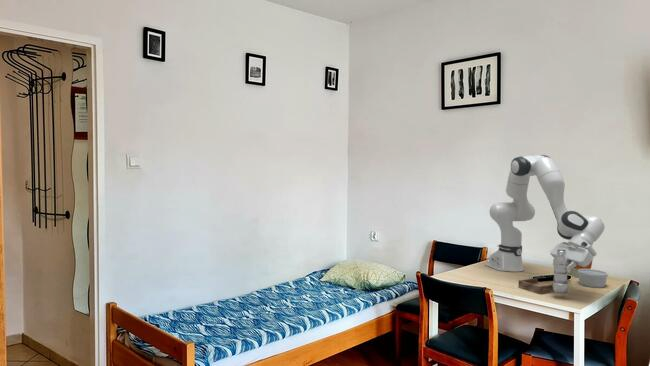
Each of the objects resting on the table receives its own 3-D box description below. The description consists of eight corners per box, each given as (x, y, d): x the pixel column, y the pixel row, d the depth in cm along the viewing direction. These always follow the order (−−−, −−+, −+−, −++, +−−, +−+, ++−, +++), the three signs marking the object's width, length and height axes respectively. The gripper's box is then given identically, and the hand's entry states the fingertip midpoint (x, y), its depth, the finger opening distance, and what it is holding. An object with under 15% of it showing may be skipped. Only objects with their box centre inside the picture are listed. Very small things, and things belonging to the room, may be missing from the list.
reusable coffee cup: (577, 279, 250) (578, 251, 249) (561, 273, 262) (562, 246, 261) (598, 278, 252) (599, 250, 251) (581, 272, 264) (581, 246, 263)
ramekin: (583, 280, 248) (583, 267, 248) (610, 285, 238) (611, 271, 238) (573, 284, 239) (573, 271, 239) (601, 290, 229) (602, 276, 229)
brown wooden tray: (518, 287, 233) (518, 280, 233) (536, 284, 239) (536, 277, 239) (540, 294, 222) (540, 287, 221) (559, 291, 227) (559, 284, 227)
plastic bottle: (569, 295, 213) (570, 252, 211) (552, 293, 215) (554, 251, 214) (567, 291, 219) (568, 249, 217) (551, 290, 221) (552, 248, 220)
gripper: (558, 237, 227) (540, 258, 225) (592, 245, 208) (573, 268, 206) (565, 245, 229) (547, 266, 227) (600, 254, 209) (581, 277, 207)
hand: (560, 267), depth 216 cm, fingers closed on plastic bottle, 6 cm apart
